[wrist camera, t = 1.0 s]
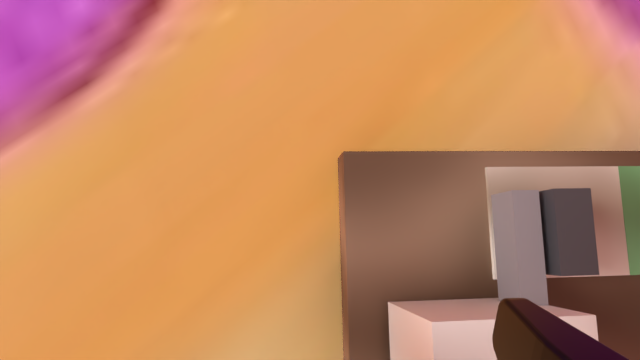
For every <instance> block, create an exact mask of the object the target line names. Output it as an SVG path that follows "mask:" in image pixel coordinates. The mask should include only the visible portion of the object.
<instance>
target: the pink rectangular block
mask: <svg viewBox="0 0 640 360" xmlns="http://www.w3.org/2000/svg"><path fill="white" fill-rule="evenodd" d="M491 201H492V214H493V228H494V242H495V256H496V270H497V284H498V297H499V298H480V299H453V300H425V301H398V302H388V317H389V341H390V360H497V358H496V355H495V352H494V348H493V342H492V335H493V330H494V325H495V320H496V315H497V310H498V305H499V303H500V301H501V300H502V299H504V298H526V299H528V300H530V301H531V302H533V303H535V304H536V305H538V306H540V307H541V308H543V309H545V310H547V311H548V312H550V313H552V314H553V315H555V316H557V317H558V318H560V319H562V320H563V321H565V322H567V323H569V324H570V325H572V326H574V327H575V328H577V329H579V330H580V331H582V332H584V333H585V334H587V335H589V336H591V337H592V338H594V339H596V340H597V341H598V331H597V321H596V315H593V314H588V313H583V312H578V311H574V310H569V309H564V308H559V307H554V306H550V305H549V304H548V292H547V281H546V269H545V258H544V246H543V234H542V223H541V211H540V199H539V190H511V191H507V192H502V193H498V194H494V195H491Z"/></svg>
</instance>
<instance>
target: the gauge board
mask: <svg viewBox="0 0 640 360" xmlns="http://www.w3.org/2000/svg"><path fill="white" fill-rule="evenodd" d="M338 175H339V210H340V245H341V280H342V316H343V351H344V360H390V341H389V317H388V302H398V301H425V300H453V299H480V298H499V297H498V284H497V270H496V256H495V242H494V228H493V214H492V201H491V195H494V194H498V193H502V192H507V191H511V190H539V191H543V190H548V189H554V188H591V196H592V206H593V216H594V226H595V236H596V246H597V256H598V266H599V275H582V276H554V275H546V281H547V292H548V304H549V305H550V306H554V307H559V308H564V309H569V310H574V311H578V312H583V313H588V314H593V315H596V321H597V331H598V341H599V342H601V343H602V344H604V345H606V346H607V347H609V348H611V349H612V350H614V351H616V352H618V353H619V354H621V355H623V356H624V357H626V358H628V359H629V360H640V151H402V152H343V153H342V154H341V155H340V156H339V158H338Z"/></svg>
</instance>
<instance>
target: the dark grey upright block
mask: <svg viewBox="0 0 640 360" xmlns="http://www.w3.org/2000/svg"><path fill="white" fill-rule="evenodd" d="M539 199H540V211H541V223H542V234H543V246H544V258H545V269H546V275H554V276H582V275H599V266H598V256H597V246H596V236H595V226H594V216H593V206H592V196H591V188H554V189H548V190H543V191H539Z"/></svg>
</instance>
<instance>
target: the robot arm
mask: <svg viewBox="0 0 640 360" xmlns="http://www.w3.org/2000/svg"><path fill="white" fill-rule="evenodd" d="M492 342H493V348H494V352H495V355H496V358H497V360H629V359H628V358H626V357H624V356H623V355H621V354H619V353H618V352H616V351H614V350H612V349H611V348H609V347H607V346H606V345H604V344H602V343H601V342H599V341H597V340H596V339H594V338H592V337H591V336H589V335H587V334H585V333H584V332H582V331H580V330H579V329H577V328H575V327H574V326H572V325H570V324H569V323H567V322H565V321H563V320H562V319H560V318H558V317H557V316H555V315H553V314H552V313H550V312H548V311H547V310H545V309H543V308H541V307H540V306H538V305H536V304H535V303H533V302H531V301H530V300H528V299H526V298H504V299H502V300H501V301H500V303H499V305H498V310H497V315H496V320H495V325H494V330H493V335H492Z"/></svg>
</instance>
